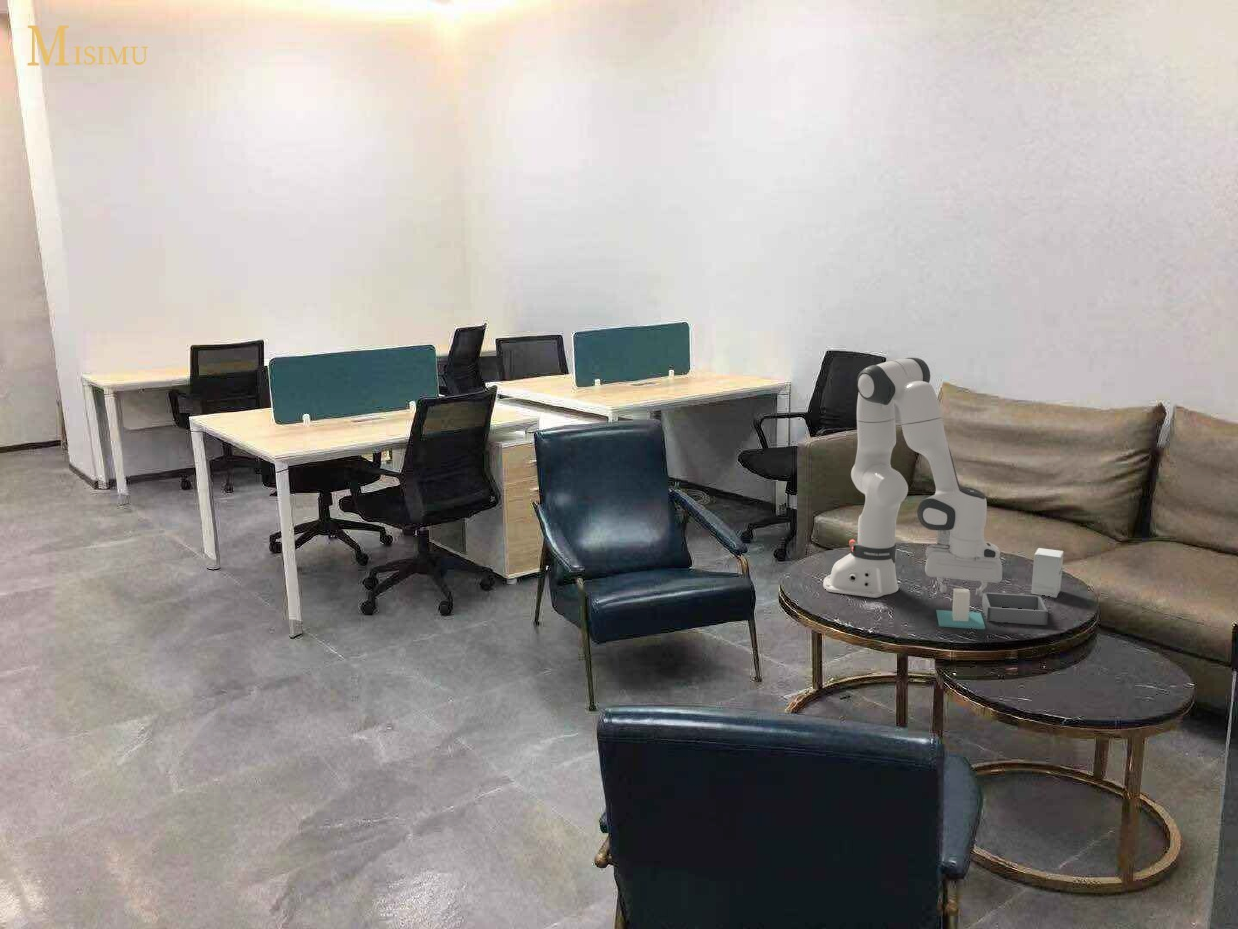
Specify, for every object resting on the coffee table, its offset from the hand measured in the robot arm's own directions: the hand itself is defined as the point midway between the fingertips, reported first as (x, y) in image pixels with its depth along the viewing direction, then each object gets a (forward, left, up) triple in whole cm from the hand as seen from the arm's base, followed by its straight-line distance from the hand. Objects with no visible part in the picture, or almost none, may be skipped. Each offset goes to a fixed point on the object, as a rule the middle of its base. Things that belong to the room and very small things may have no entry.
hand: (960, 593), depth 276 cm
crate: (+15, +6, -8) cm, 18 cm away
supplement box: (+27, +27, -8) cm, 39 cm away
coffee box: (+2, +50, -8) cm, 51 cm away
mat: (0, -1, -8) cm, 8 cm away
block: (0, 0, -7) cm, 7 cm away
